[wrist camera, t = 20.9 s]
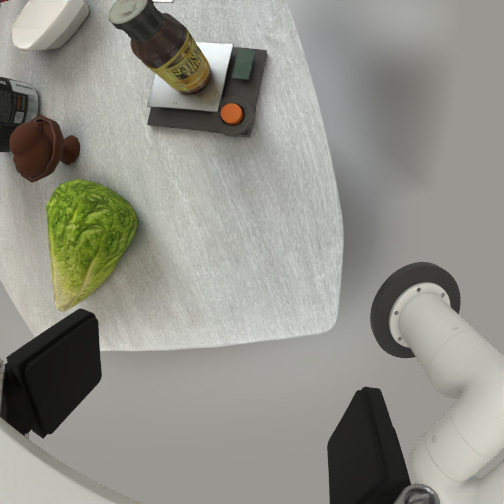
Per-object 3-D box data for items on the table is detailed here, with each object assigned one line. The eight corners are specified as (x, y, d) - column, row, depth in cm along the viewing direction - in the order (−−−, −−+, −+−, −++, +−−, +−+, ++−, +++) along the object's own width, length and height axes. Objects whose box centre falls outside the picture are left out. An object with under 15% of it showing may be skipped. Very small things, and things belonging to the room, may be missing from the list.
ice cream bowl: (48, 134, 44) (-8, 130, 29) (89, 113, 42) (31, 100, 28) (53, 185, 46) (-4, 192, 32) (95, 168, 44) (34, 170, 30)
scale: (269, 54, 37) (268, 46, 34) (251, 140, 41) (249, 137, 38) (170, 48, 38) (163, 41, 35) (150, 128, 42) (142, 125, 39)
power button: (244, 107, 37) (243, 104, 36) (240, 126, 38) (239, 124, 36) (225, 104, 37) (222, 102, 36) (221, 123, 38) (218, 121, 37)
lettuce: (110, 317, 52) (63, 270, 53) (160, 215, 44) (100, 166, 45) (60, 352, 39) (12, 293, 39) (97, 232, 31) (36, 170, 31)
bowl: (112, 4, 36) (87, -15, 27) (54, 71, 41) (24, 61, 32) (78, -16, 35) (56, -31, 26) (30, 42, 39) (4, 33, 30)
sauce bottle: (201, 100, 37) (133, 44, 18) (164, 88, 37) (83, 38, 18) (221, 61, 35) (171, -15, 16) (184, 51, 35) (118, -17, 16)
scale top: (256, 47, 34) (255, 46, 34) (241, 115, 37) (240, 114, 37) (165, 44, 35) (164, 42, 35) (148, 107, 38) (146, 106, 38)
